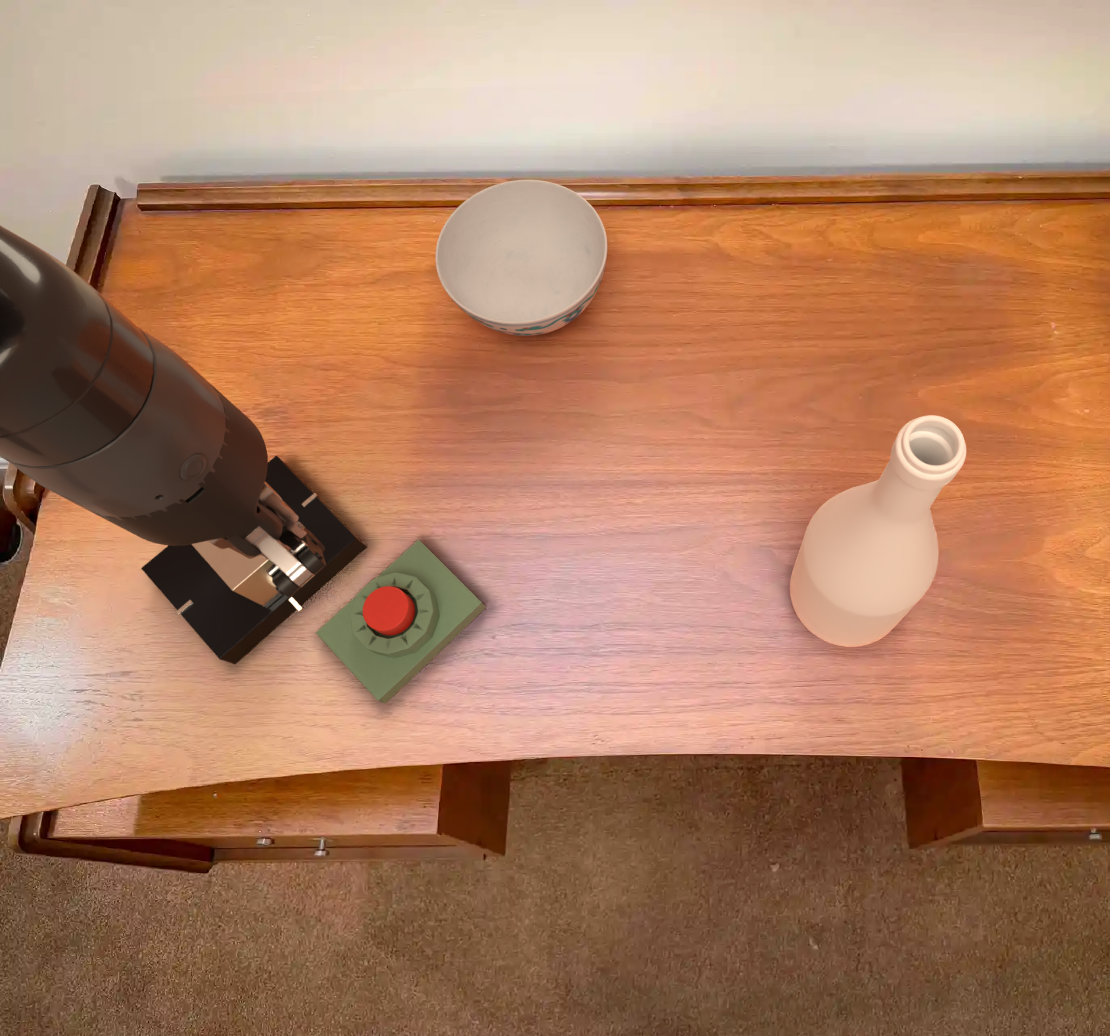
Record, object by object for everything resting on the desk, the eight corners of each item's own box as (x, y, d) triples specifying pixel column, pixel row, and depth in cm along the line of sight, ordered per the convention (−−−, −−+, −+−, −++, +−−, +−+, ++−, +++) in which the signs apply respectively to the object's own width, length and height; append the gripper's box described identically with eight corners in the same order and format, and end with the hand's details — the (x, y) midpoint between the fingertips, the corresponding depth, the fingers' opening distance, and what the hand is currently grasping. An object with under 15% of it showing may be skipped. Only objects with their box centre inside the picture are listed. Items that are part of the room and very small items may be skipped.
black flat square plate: (245, 679, 71) (229, 673, 68) (146, 565, 74) (127, 555, 72) (380, 558, 74) (368, 548, 72) (279, 454, 78) (265, 441, 75)
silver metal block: (302, 577, 71) (269, 556, 66) (267, 608, 70) (230, 590, 65) (231, 499, 74) (193, 472, 68) (195, 528, 73) (154, 503, 67)
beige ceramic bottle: (792, 651, 71) (849, 532, 43) (785, 540, 74) (834, 362, 46) (908, 648, 71) (1042, 527, 43) (896, 538, 74) (1014, 357, 46)
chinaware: (427, 321, 82) (400, 272, 75) (520, 211, 86) (503, 154, 79) (556, 396, 79) (541, 352, 72) (646, 277, 83) (640, 225, 76)
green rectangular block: (385, 704, 70) (369, 698, 67) (323, 637, 72) (305, 627, 69) (486, 607, 73) (476, 597, 69) (424, 545, 75) (411, 532, 71)
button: (390, 645, 69) (382, 640, 67) (361, 614, 69) (352, 609, 68) (424, 612, 69) (417, 607, 68) (395, 582, 70) (388, 576, 69)
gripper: (-18, 399, 39) (196, 526, 55) (151, 595, 36) (325, 669, 52) (123, 294, 41) (290, 448, 57) (296, 472, 38) (420, 581, 54)
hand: (306, 553), depth 55 cm, fingers closed
